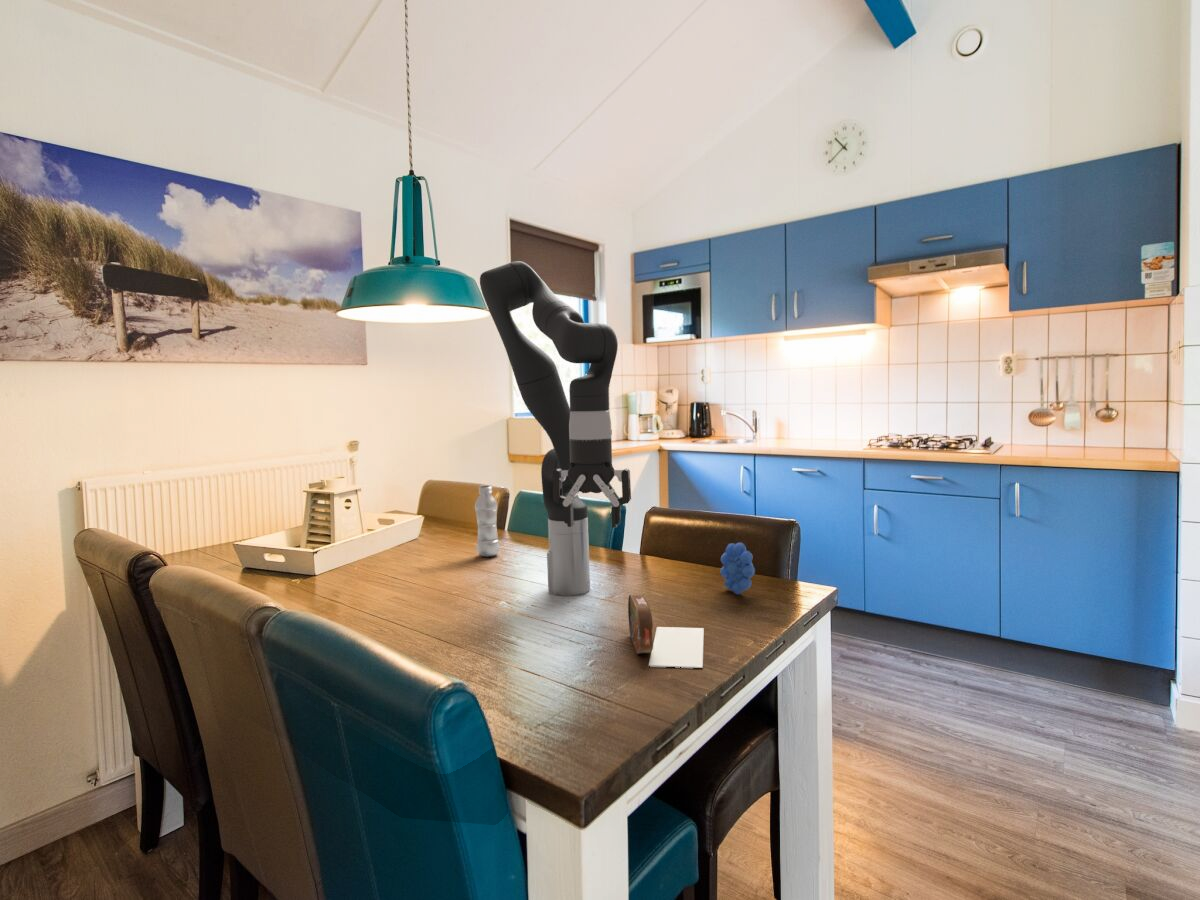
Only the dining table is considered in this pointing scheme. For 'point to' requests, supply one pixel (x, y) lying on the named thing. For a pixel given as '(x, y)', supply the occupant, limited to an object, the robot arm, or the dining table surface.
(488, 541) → the plastic bottle
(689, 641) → the mat
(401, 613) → the dining table surface
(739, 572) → the grapes
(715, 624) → the dining table surface
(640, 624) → the tin
